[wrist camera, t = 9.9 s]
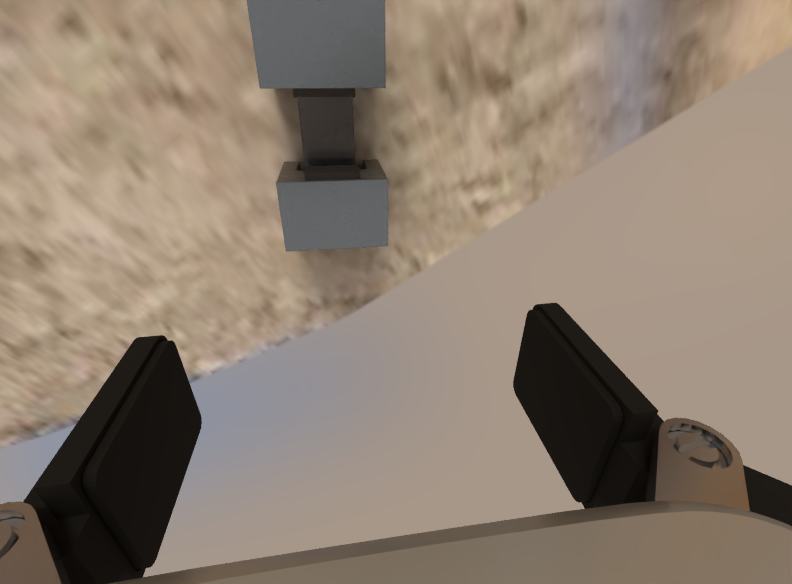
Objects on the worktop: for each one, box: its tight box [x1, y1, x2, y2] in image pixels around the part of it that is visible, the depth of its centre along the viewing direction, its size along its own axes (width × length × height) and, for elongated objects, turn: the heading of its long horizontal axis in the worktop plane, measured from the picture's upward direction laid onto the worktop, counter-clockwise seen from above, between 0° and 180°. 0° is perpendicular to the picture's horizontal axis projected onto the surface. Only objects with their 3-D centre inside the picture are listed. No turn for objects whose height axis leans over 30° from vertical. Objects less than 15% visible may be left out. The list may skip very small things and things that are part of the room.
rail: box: [247, 0, 386, 166], centre depth 22 cm, size 6×12×5 cm, turn 0°
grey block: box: [276, 160, 388, 252], centre depth 25 cm, size 6×4×5 cm
